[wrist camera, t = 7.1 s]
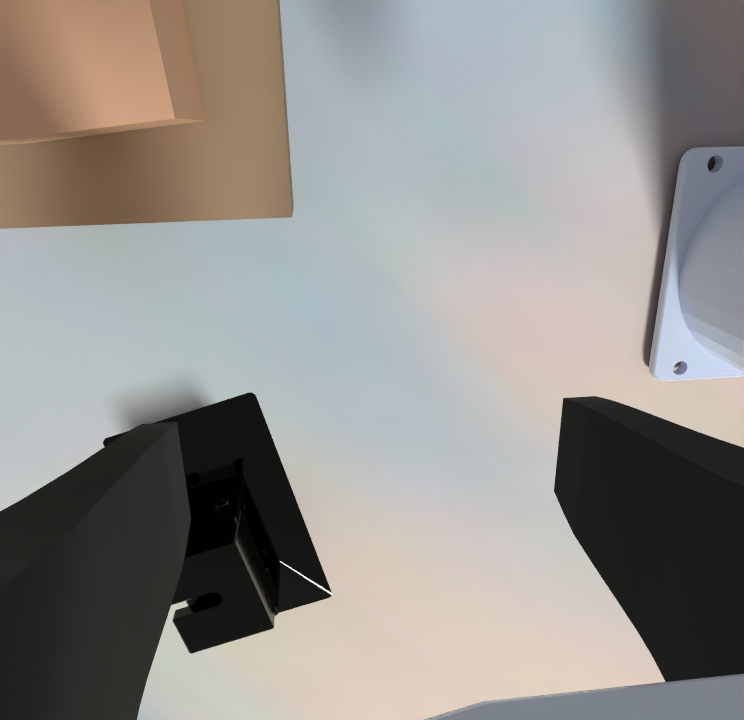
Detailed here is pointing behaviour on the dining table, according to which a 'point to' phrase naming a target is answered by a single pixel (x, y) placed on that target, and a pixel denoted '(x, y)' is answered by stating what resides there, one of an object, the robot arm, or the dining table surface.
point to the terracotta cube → (94, 68)
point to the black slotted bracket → (239, 528)
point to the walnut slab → (175, 142)
